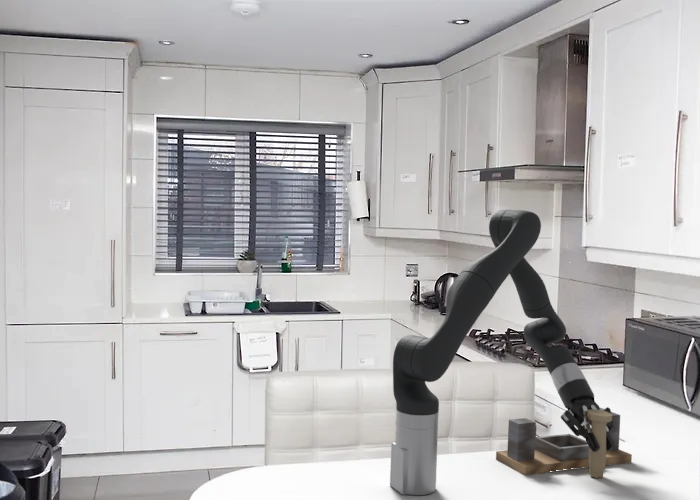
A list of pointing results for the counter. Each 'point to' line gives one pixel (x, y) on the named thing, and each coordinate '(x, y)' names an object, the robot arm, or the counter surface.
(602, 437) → the handle
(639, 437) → the counter surface
